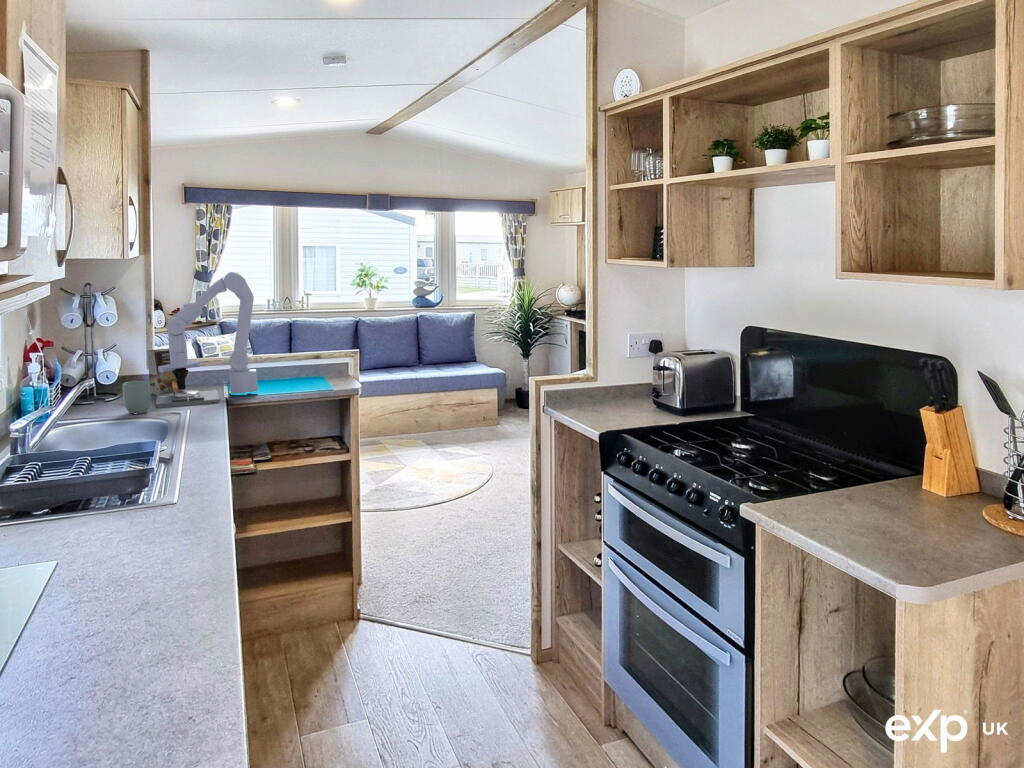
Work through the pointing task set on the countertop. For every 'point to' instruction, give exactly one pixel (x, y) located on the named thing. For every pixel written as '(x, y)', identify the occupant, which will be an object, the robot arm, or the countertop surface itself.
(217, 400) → the gray mechanism base plate
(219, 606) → the countertop surface
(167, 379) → the coffee box
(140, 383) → the cup
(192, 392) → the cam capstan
